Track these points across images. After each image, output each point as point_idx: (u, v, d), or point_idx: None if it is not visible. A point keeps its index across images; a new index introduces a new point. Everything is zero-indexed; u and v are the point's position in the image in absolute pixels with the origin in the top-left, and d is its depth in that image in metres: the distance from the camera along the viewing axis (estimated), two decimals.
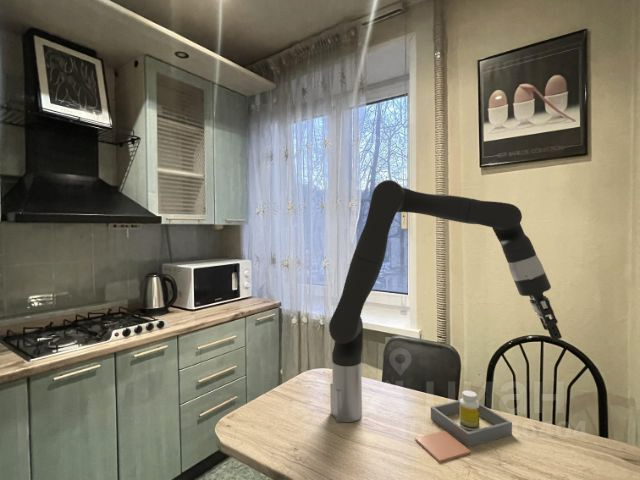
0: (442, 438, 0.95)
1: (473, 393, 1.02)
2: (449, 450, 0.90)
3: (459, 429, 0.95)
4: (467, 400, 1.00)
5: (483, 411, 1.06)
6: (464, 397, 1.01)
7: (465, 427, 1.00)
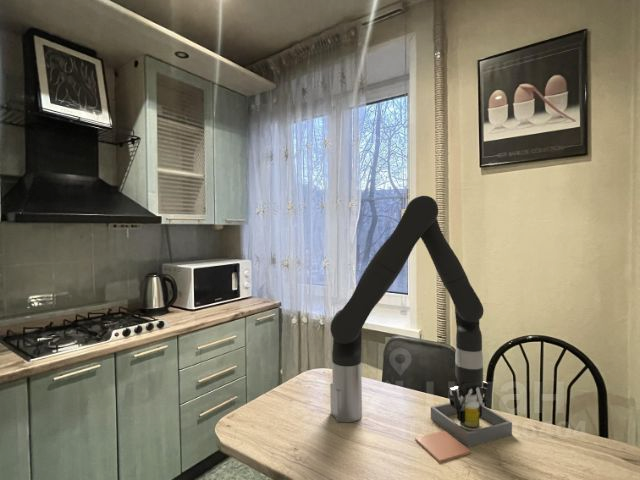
0: (442, 438, 0.95)
1: None
2: (449, 450, 0.90)
3: (459, 429, 0.95)
4: None
5: (483, 411, 1.06)
6: None
7: (465, 427, 1.00)
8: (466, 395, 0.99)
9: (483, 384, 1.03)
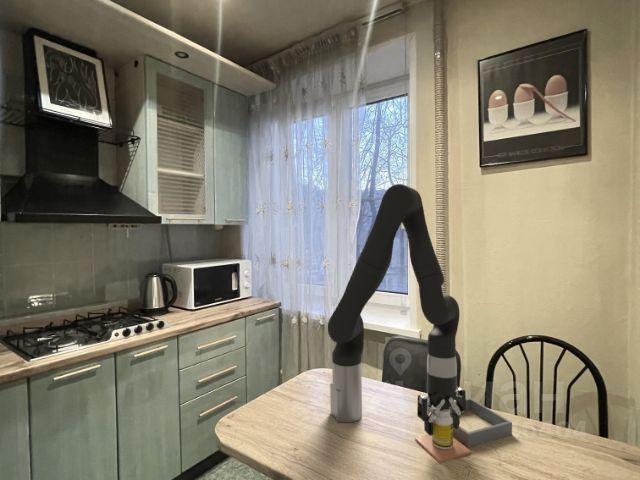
0: None
1: None
2: (449, 450, 0.90)
3: (459, 429, 0.95)
4: (439, 416, 0.91)
5: (483, 411, 1.06)
6: None
7: (437, 445, 0.91)
8: (437, 405, 0.90)
9: (458, 392, 0.93)
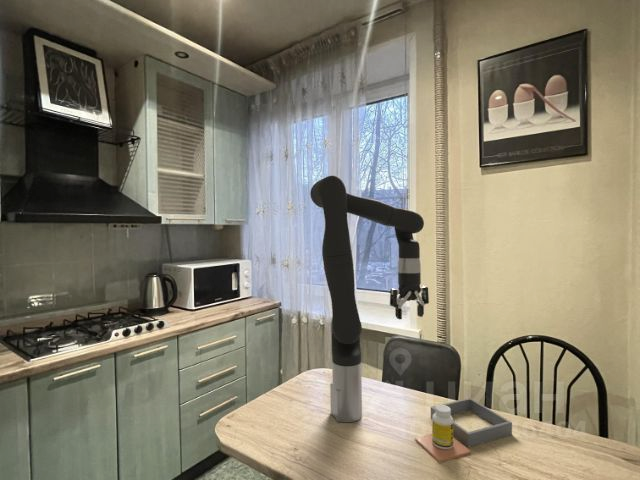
0: None
1: (447, 408, 0.92)
2: (449, 450, 0.90)
3: (459, 429, 0.95)
4: (439, 416, 0.91)
5: (483, 411, 1.06)
6: (436, 412, 0.92)
7: (437, 445, 0.91)
8: (405, 296, 1.16)
9: (422, 289, 1.20)
